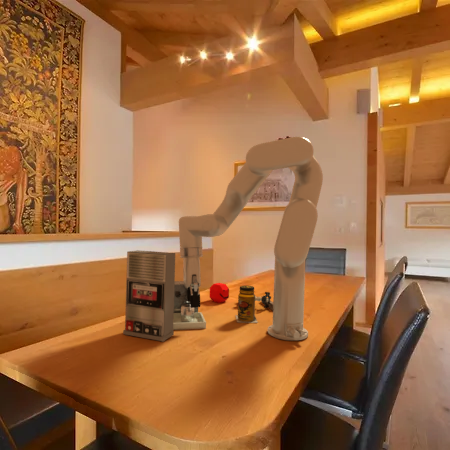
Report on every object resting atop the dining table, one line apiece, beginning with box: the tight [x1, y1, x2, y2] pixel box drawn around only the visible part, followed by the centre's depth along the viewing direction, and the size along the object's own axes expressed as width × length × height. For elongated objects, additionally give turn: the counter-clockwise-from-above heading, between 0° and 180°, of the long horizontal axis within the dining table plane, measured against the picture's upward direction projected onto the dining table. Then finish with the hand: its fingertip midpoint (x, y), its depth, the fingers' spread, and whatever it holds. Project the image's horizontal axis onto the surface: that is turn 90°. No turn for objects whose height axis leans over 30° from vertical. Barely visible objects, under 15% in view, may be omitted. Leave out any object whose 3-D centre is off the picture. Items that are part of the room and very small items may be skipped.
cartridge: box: [181, 303, 194, 323], centre depth 106 cm, size 4×4×6 cm
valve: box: [255, 291, 272, 309], centre depth 129 cm, size 7×7×12 cm
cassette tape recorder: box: [122, 249, 176, 343], centre depth 93 cm, size 14×6×25 cm, turn 70°
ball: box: [209, 282, 230, 304], centre depth 137 cm, size 8×8×8 cm
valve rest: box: [260, 295, 273, 312], centre depth 130 cm, size 14×12×2 cm
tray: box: [173, 311, 207, 331], centre depth 105 cm, size 11×11×2 cm
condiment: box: [235, 285, 259, 324], centre depth 112 cm, size 7×8×12 cm
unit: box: [174, 280, 199, 313], centre depth 114 cm, size 7×10×12 cm
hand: (193, 303), depth 105 cm, fingers open, 9 cm apart
